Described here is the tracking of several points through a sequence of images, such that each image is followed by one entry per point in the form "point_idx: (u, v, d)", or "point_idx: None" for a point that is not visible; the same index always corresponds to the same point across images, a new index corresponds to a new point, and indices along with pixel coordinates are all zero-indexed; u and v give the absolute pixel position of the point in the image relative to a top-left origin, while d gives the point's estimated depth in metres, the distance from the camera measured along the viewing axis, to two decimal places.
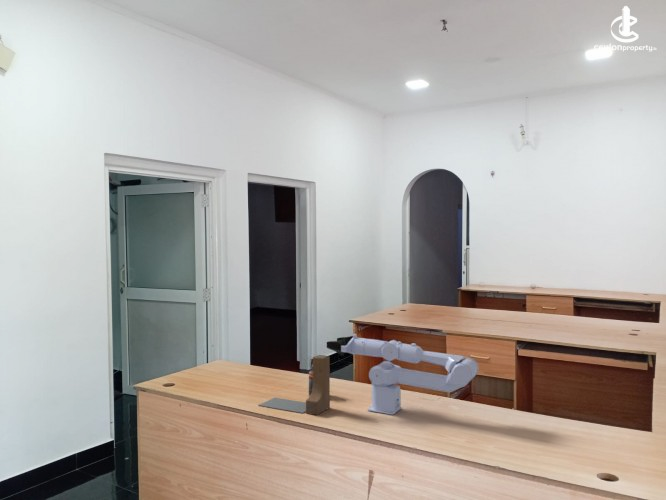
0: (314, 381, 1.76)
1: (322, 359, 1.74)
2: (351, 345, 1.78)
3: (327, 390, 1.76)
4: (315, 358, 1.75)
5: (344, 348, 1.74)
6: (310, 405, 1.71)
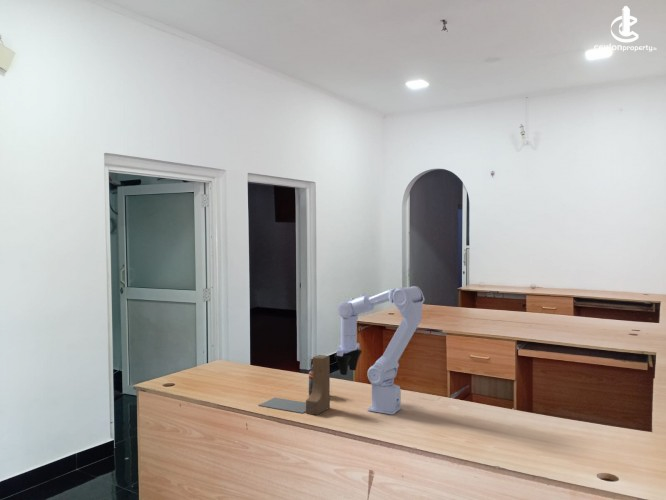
0: (314, 381, 1.76)
1: (322, 359, 1.74)
2: (343, 348, 1.83)
3: (327, 390, 1.76)
4: (315, 358, 1.75)
5: (338, 352, 1.79)
6: (310, 405, 1.71)
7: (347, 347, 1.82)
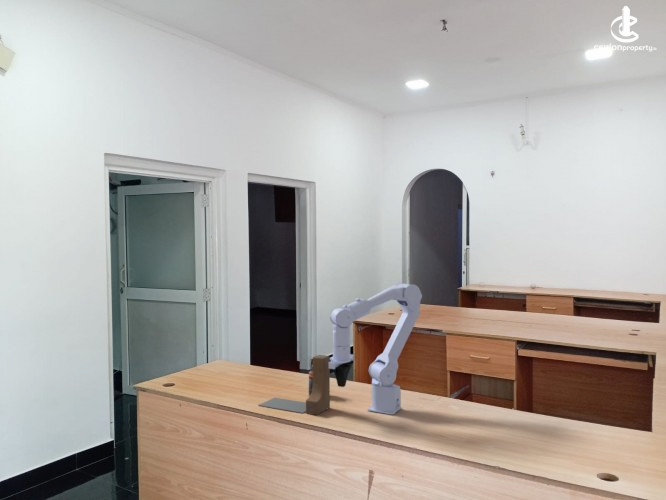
0: (314, 381, 1.76)
1: (322, 359, 1.74)
2: (335, 360, 1.68)
3: (327, 390, 1.76)
4: (315, 358, 1.75)
5: (330, 364, 1.64)
6: (310, 405, 1.71)
7: (340, 359, 1.68)
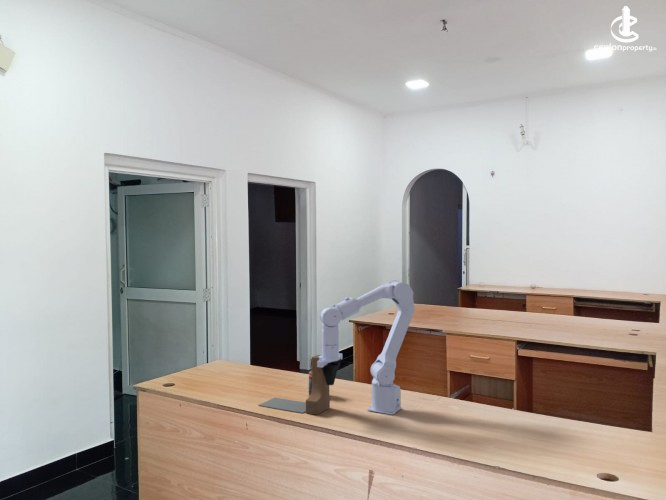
0: (314, 381, 1.76)
1: None
2: (324, 359, 1.70)
3: (327, 390, 1.76)
4: (314, 358, 1.76)
5: (318, 363, 1.66)
6: (310, 405, 1.71)
7: (328, 358, 1.70)
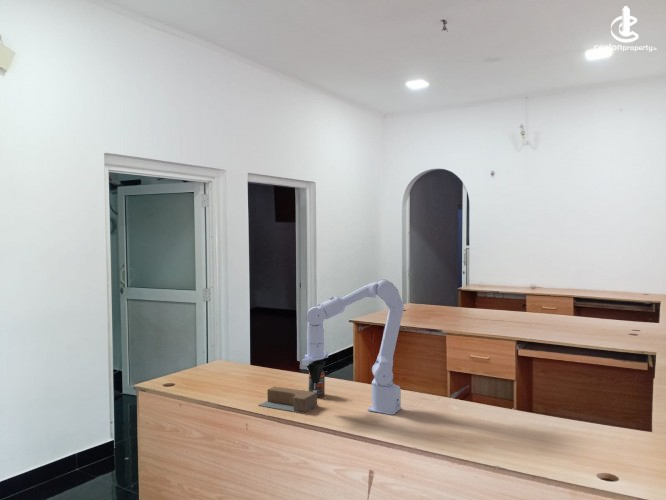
0: (286, 402, 1.81)
1: (268, 390, 1.84)
2: (309, 357, 1.73)
3: (299, 391, 1.82)
4: (268, 398, 1.84)
5: (303, 361, 1.69)
6: (297, 405, 1.73)
7: (313, 356, 1.72)
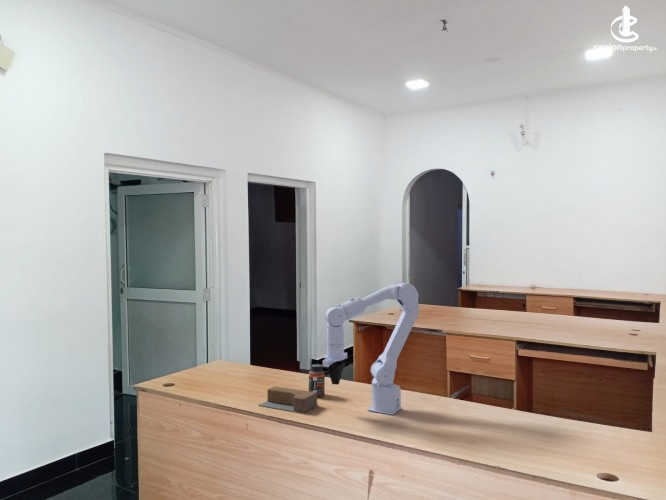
0: (286, 402, 1.81)
1: (268, 390, 1.84)
2: (329, 358, 1.71)
3: (299, 391, 1.82)
4: (268, 398, 1.84)
5: (324, 362, 1.67)
6: (297, 405, 1.73)
7: (334, 357, 1.71)
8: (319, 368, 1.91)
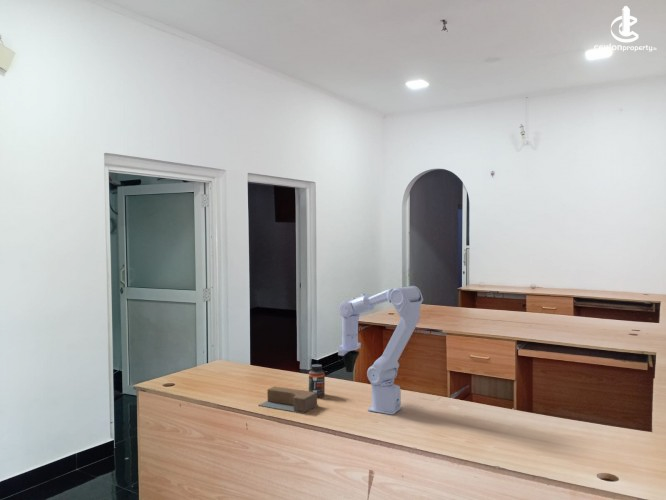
0: (286, 402, 1.81)
1: (268, 390, 1.84)
2: (344, 347, 1.84)
3: (299, 391, 1.82)
4: (268, 398, 1.84)
5: (340, 351, 1.80)
6: (297, 405, 1.73)
7: (348, 346, 1.83)
8: (319, 368, 1.91)
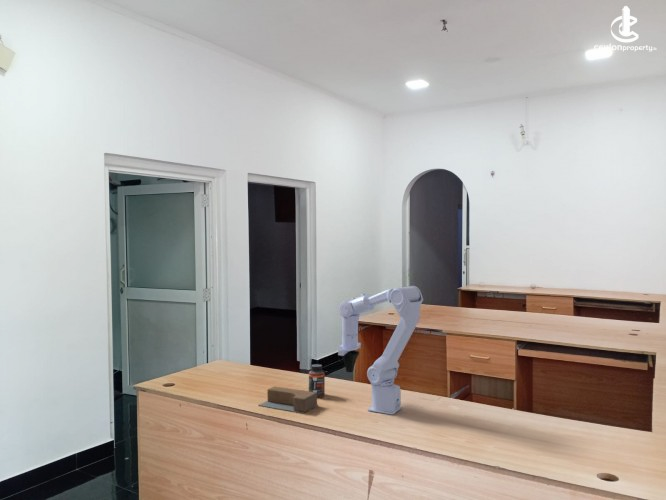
0: (286, 402, 1.81)
1: (268, 390, 1.84)
2: (344, 347, 1.84)
3: (299, 391, 1.82)
4: (268, 398, 1.84)
5: (340, 351, 1.80)
6: (297, 405, 1.73)
7: (348, 346, 1.83)
8: (319, 368, 1.91)
